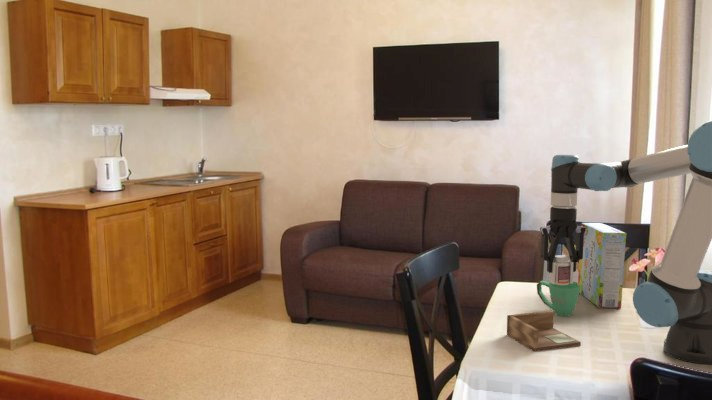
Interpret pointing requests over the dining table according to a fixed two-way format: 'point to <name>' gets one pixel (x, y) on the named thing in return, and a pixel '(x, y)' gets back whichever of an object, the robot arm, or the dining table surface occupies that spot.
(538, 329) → the wooden corner tray
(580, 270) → the snack box
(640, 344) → the dining table surface
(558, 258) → the pill bottle
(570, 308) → the mug
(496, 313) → the dining table surface
